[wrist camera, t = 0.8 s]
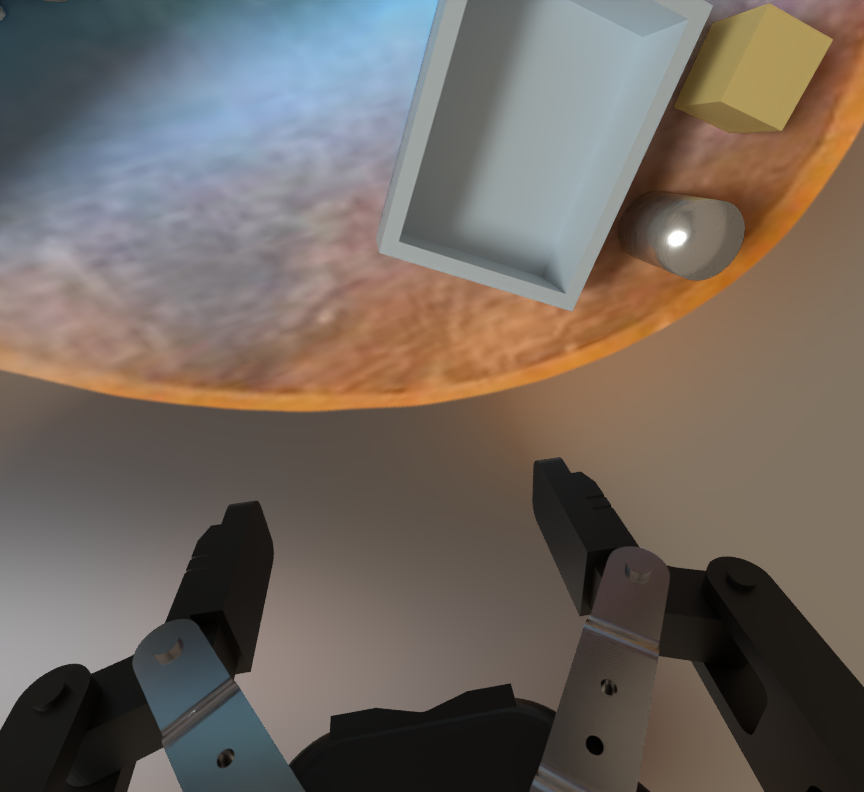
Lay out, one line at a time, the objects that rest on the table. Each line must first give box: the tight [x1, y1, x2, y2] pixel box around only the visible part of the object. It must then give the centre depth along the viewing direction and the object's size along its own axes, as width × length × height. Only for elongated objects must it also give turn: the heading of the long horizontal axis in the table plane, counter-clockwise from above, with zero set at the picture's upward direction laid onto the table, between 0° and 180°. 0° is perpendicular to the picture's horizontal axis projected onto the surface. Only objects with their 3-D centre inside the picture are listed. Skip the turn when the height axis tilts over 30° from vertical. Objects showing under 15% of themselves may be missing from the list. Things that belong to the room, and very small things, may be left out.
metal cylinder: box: [619, 191, 745, 280], centre depth 34 cm, size 5×5×7 cm
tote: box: [376, 0, 713, 311], centre depth 30 cm, size 18×14×6 cm
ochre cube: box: [674, 3, 833, 133], centre depth 31 cm, size 5×5×5 cm
